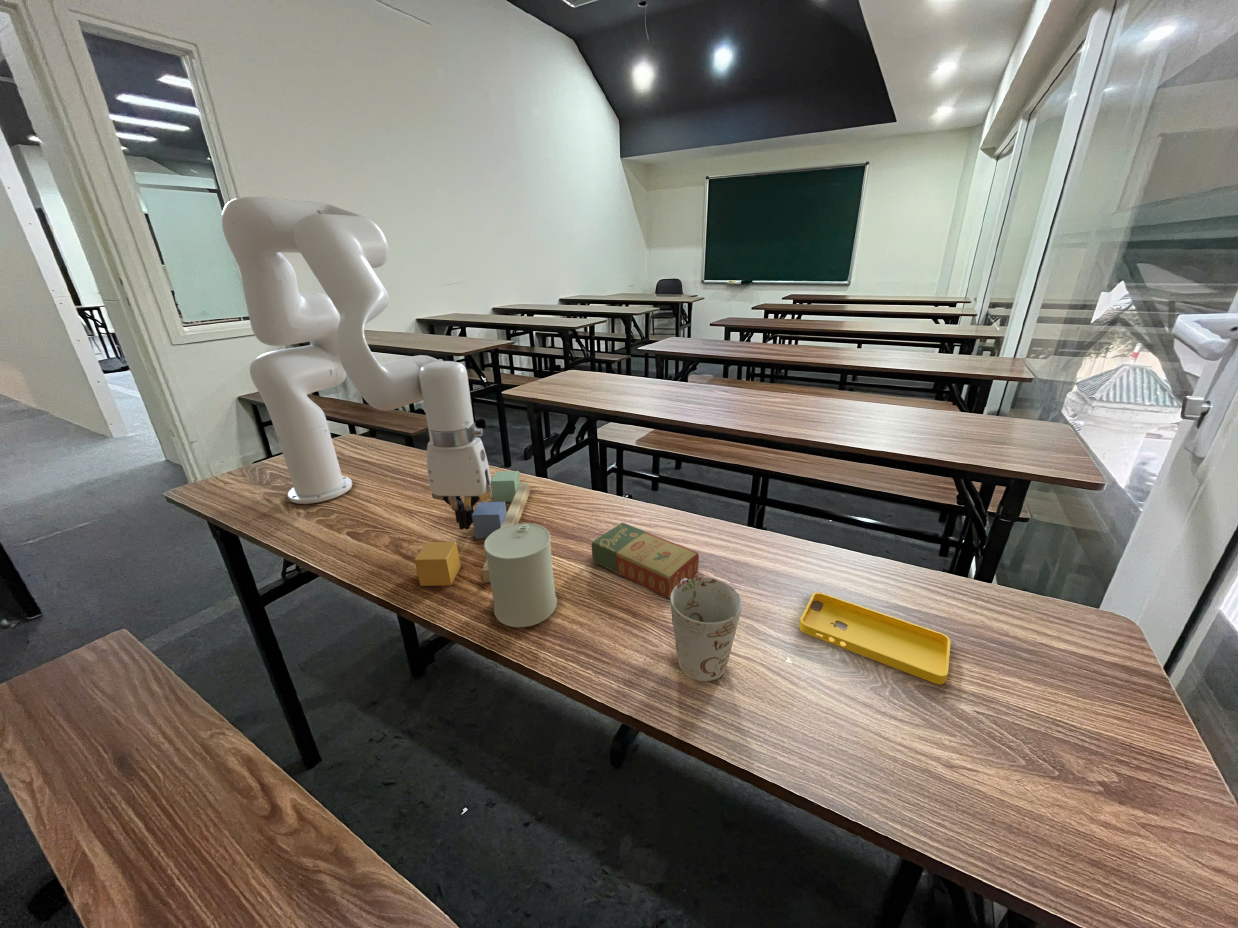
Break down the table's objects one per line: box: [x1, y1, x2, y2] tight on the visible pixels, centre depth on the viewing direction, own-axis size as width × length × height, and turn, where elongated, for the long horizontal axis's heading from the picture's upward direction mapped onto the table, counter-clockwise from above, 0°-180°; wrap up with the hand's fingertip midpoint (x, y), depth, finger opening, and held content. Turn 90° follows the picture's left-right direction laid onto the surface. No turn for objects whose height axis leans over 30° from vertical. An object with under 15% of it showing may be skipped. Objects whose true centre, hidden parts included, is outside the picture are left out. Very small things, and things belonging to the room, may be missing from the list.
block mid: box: [472, 501, 507, 540], centre depth 90 cm, size 5×5×5 cm
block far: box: [490, 470, 521, 503], centre depth 103 cm, size 5×5×5 cm
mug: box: [669, 577, 743, 682], centre depth 60 cm, size 8×13×10 cm, turn 16°
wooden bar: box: [481, 482, 531, 584], centre depth 91 cm, size 32×2×2 cm, turn 0°
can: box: [483, 522, 558, 628], centre depth 69 cm, size 9×9×12 cm
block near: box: [413, 541, 462, 587], centre depth 77 cm, size 5×5×5 cm
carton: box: [591, 522, 700, 599], centre depth 78 cm, size 8×16×4 cm, turn 50°
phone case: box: [798, 591, 952, 685], centre depth 63 cm, size 8×17×1 cm, turn 55°
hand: (466, 525), depth 90 cm, fingers closed
